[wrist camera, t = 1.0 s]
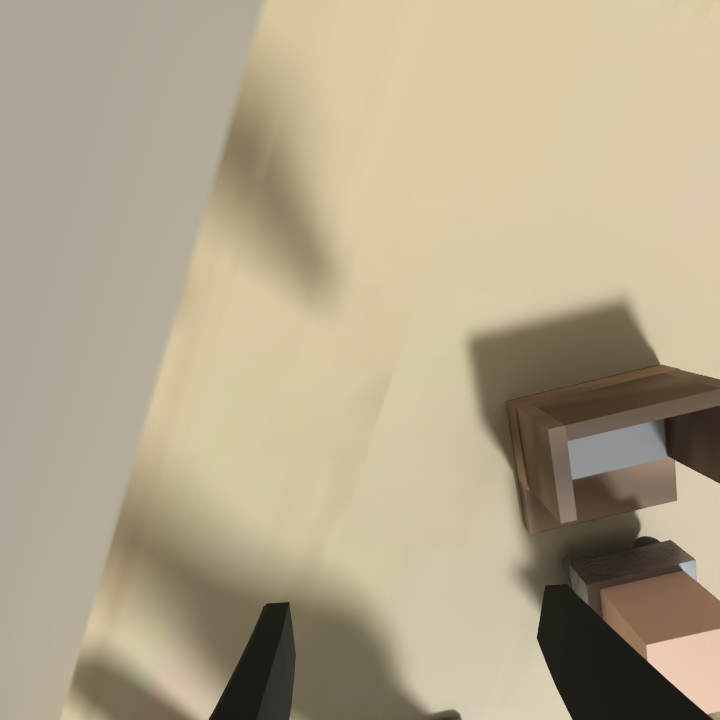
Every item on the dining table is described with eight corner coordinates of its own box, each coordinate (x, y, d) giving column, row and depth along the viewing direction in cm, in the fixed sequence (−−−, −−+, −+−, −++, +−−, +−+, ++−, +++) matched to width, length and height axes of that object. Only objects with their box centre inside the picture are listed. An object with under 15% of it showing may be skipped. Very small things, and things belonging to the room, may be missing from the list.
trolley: (658, 628, 23) (770, 750, 17) (570, 648, 23) (649, 776, 17) (651, 525, 21) (771, 618, 15) (555, 547, 21) (637, 648, 15)
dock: (669, 495, 21) (744, 543, 17) (526, 528, 21) (567, 583, 17) (661, 364, 20) (741, 383, 16) (505, 401, 20) (546, 430, 16)
